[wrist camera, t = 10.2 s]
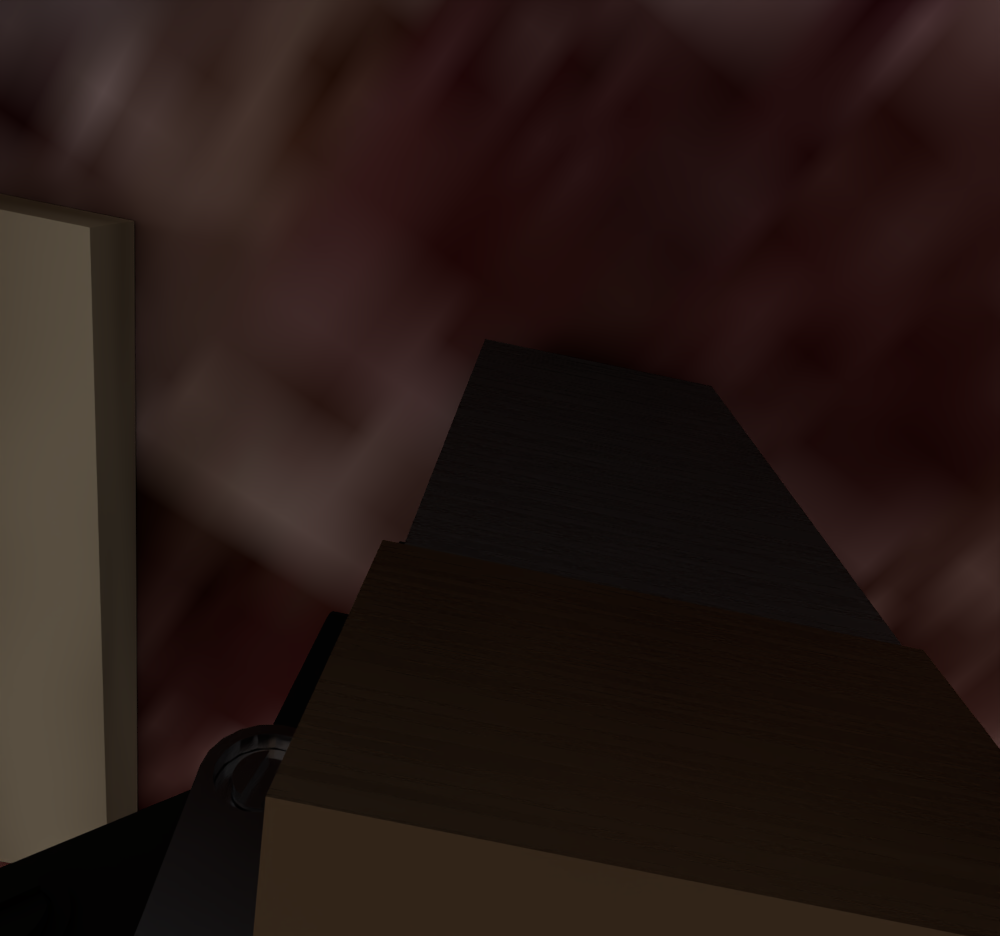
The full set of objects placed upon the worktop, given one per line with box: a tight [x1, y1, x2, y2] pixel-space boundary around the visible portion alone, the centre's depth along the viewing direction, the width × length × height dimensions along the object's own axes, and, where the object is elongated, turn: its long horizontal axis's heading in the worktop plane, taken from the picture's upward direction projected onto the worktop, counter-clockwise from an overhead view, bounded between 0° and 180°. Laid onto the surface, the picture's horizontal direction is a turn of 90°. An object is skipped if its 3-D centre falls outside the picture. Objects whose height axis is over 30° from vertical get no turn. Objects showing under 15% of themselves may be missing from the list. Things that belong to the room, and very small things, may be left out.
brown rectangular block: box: [253, 339, 1000, 936], centre depth 9 cm, size 4×9×9 cm, turn 169°
